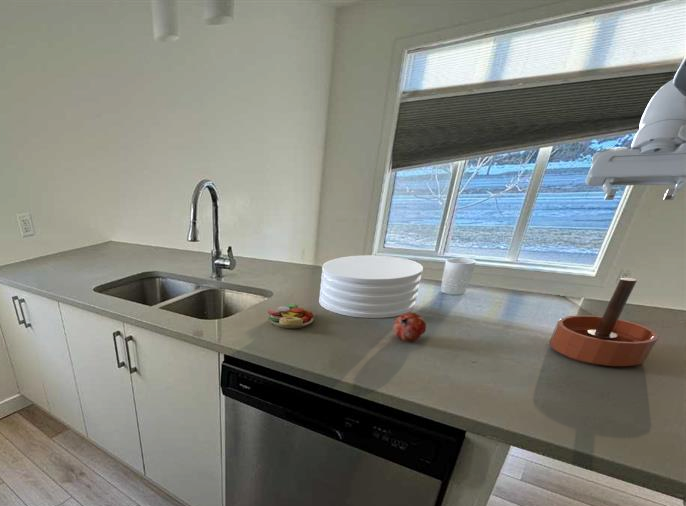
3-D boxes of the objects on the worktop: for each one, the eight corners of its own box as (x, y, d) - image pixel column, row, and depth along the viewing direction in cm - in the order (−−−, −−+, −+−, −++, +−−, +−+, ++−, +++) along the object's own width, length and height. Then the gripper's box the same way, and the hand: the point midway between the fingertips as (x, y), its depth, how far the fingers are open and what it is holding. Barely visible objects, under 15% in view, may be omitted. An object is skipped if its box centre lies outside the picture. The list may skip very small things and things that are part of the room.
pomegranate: (399, 339, 109) (379, 324, 104) (420, 317, 107) (400, 300, 102) (419, 353, 103) (398, 337, 99) (441, 330, 101) (421, 313, 96)
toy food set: (290, 334, 113) (291, 323, 111) (258, 321, 123) (258, 311, 121) (322, 321, 119) (324, 311, 117) (289, 310, 128) (289, 300, 127)
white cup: (451, 286, 135) (459, 256, 130) (473, 292, 129) (482, 261, 124) (432, 290, 133) (439, 260, 128) (453, 297, 127) (462, 265, 122)
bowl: (617, 340, 95) (629, 316, 92) (662, 372, 82) (678, 345, 79) (536, 337, 99) (545, 314, 96) (567, 366, 87) (579, 341, 84)
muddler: (602, 345, 91) (636, 275, 83) (614, 355, 88) (652, 282, 80) (575, 344, 93) (607, 275, 85) (586, 353, 89) (620, 282, 81)
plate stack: (374, 325, 113) (381, 285, 107) (300, 301, 134) (303, 267, 129) (434, 302, 124) (443, 265, 118) (357, 283, 146) (362, 251, 140)
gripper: (599, 139, 96) (579, 189, 95) (735, 130, 84) (714, 188, 83) (592, 159, 101) (573, 206, 100) (719, 153, 89) (699, 208, 88)
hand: (638, 198), depth 91 cm, fingers open, 8 cm apart
